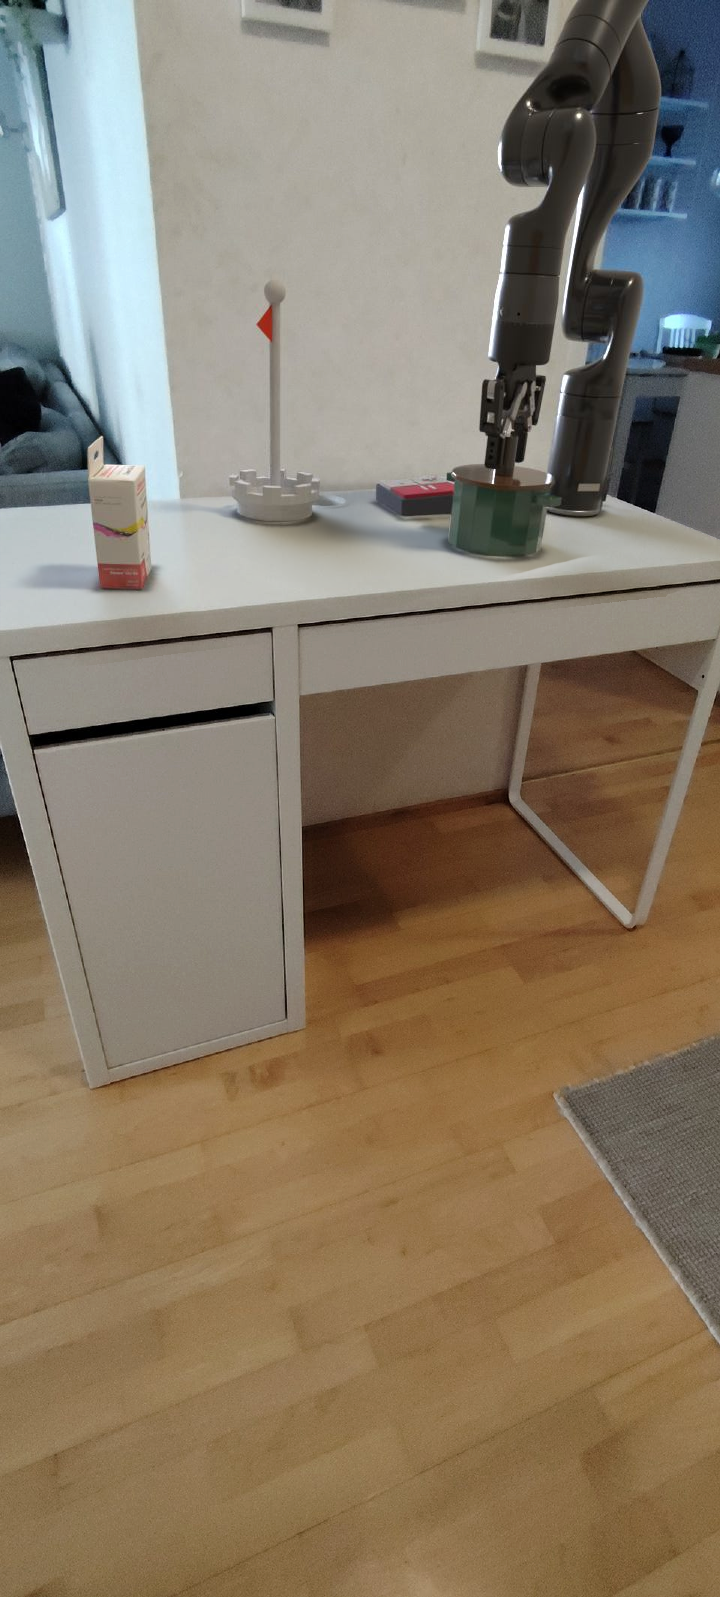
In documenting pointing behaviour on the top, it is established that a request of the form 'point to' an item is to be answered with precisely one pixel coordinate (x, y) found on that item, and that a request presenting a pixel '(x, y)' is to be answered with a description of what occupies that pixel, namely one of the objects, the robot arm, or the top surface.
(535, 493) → the pot
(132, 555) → the ink cartridge box
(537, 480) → the lid
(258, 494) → the flag stand
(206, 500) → the top surface
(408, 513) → the grey red flat block
